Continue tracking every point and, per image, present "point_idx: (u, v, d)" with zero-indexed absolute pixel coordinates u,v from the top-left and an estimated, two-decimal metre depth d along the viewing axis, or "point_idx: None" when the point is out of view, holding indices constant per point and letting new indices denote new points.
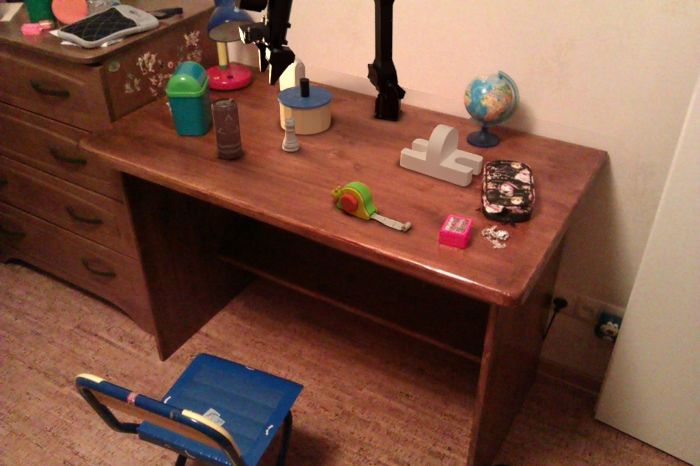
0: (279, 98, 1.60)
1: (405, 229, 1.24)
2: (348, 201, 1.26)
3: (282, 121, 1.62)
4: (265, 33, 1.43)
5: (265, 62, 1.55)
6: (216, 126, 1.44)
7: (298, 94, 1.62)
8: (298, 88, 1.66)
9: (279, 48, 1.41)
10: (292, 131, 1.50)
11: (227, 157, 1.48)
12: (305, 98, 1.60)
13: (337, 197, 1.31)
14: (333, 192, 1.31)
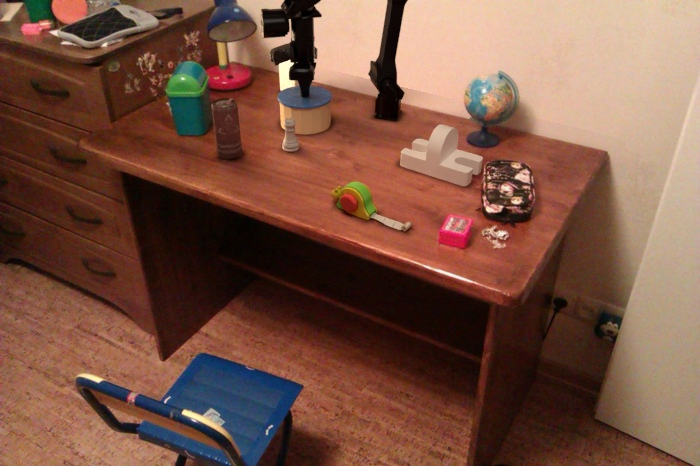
0: (279, 98, 1.60)
1: (405, 229, 1.24)
2: (348, 201, 1.26)
3: (282, 121, 1.62)
4: (290, 54, 1.52)
5: None
6: (216, 126, 1.44)
7: (298, 94, 1.62)
8: (298, 88, 1.66)
9: (297, 68, 1.49)
10: (292, 131, 1.50)
11: (227, 157, 1.48)
12: (305, 98, 1.60)
13: (337, 197, 1.31)
14: (333, 192, 1.31)
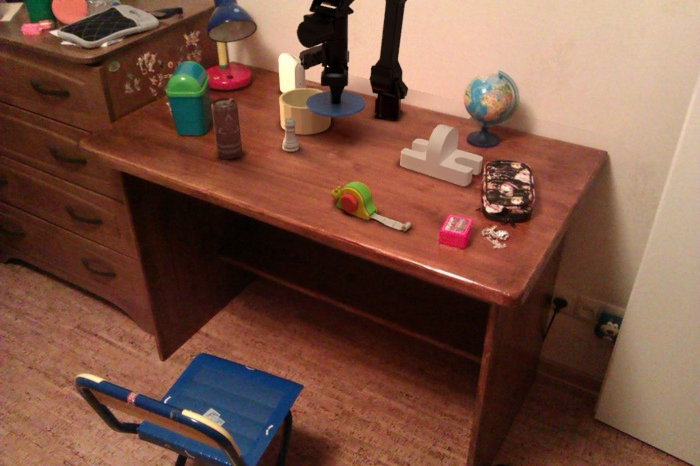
0: (308, 105, 1.47)
1: (405, 229, 1.24)
2: (348, 201, 1.26)
3: (282, 121, 1.62)
4: (321, 57, 1.40)
5: None
6: (216, 126, 1.44)
7: (328, 100, 1.49)
8: (327, 93, 1.53)
9: (330, 72, 1.36)
10: (292, 131, 1.50)
11: (227, 157, 1.48)
12: (336, 105, 1.47)
13: (337, 197, 1.31)
14: (333, 192, 1.31)
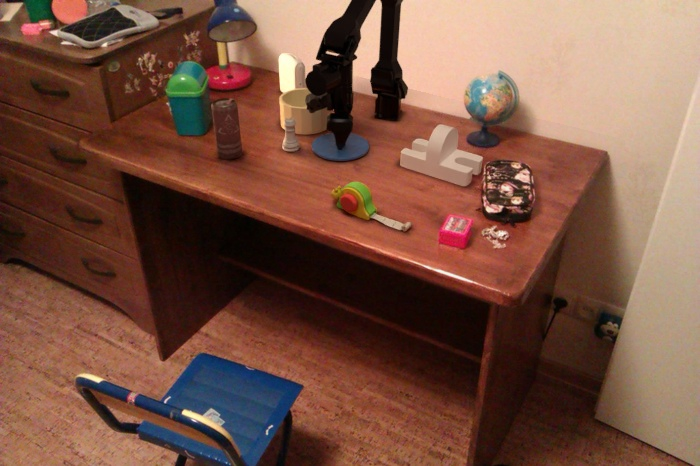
0: (314, 148, 1.52)
1: (405, 229, 1.24)
2: (348, 201, 1.26)
3: (282, 121, 1.62)
4: (327, 101, 1.44)
5: None
6: (216, 126, 1.44)
7: (333, 143, 1.54)
8: (332, 135, 1.58)
9: (336, 117, 1.40)
10: (292, 131, 1.50)
11: (227, 157, 1.48)
12: None
13: (337, 197, 1.31)
14: (333, 192, 1.31)
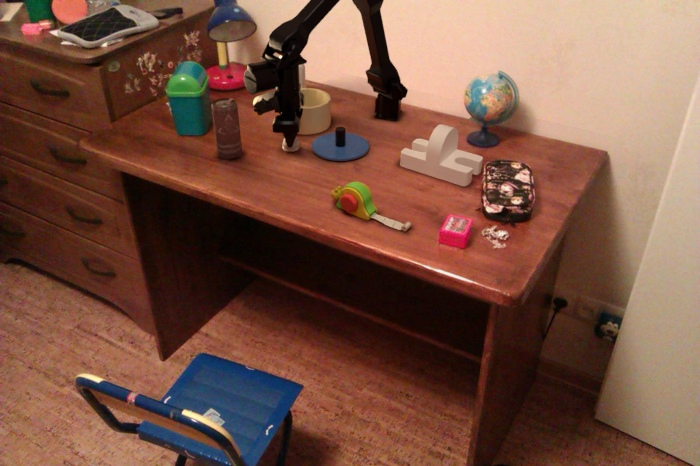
0: (314, 148, 1.52)
1: (405, 229, 1.24)
2: (348, 201, 1.26)
3: None
4: (274, 104, 1.44)
5: None
6: (216, 126, 1.44)
7: (333, 143, 1.54)
8: (332, 135, 1.58)
9: (281, 119, 1.41)
10: None
11: (227, 157, 1.48)
12: (341, 148, 1.52)
13: (337, 197, 1.31)
14: (333, 192, 1.31)
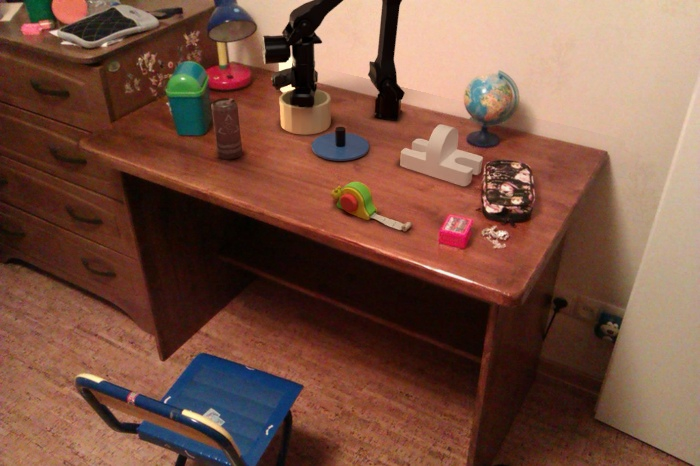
0: (314, 148, 1.52)
1: (405, 229, 1.24)
2: (348, 201, 1.26)
3: (282, 121, 1.62)
4: (291, 79, 1.56)
5: None
6: (216, 126, 1.44)
7: (333, 143, 1.54)
8: (332, 135, 1.58)
9: (298, 93, 1.53)
10: None
11: (227, 157, 1.48)
12: (341, 148, 1.52)
13: (337, 197, 1.31)
14: (333, 192, 1.31)
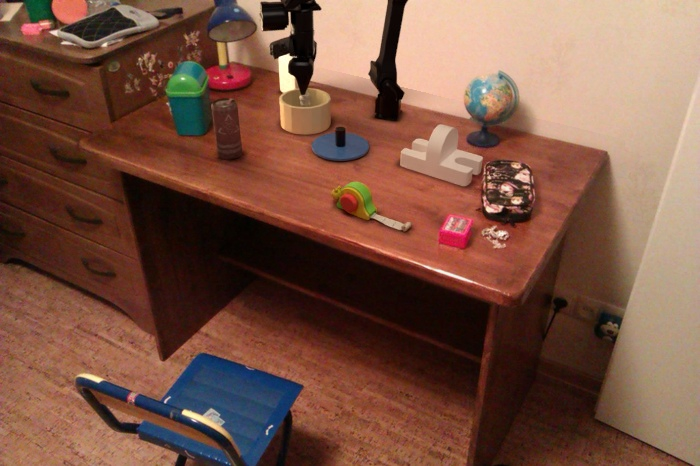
0: (314, 148, 1.52)
1: (405, 229, 1.24)
2: (348, 201, 1.26)
3: (282, 121, 1.62)
4: (289, 47, 1.51)
5: None
6: (216, 126, 1.44)
7: (333, 143, 1.54)
8: (332, 135, 1.58)
9: (297, 61, 1.48)
10: (307, 105, 1.62)
11: (227, 157, 1.48)
12: (341, 148, 1.52)
13: (337, 197, 1.31)
14: (333, 192, 1.31)
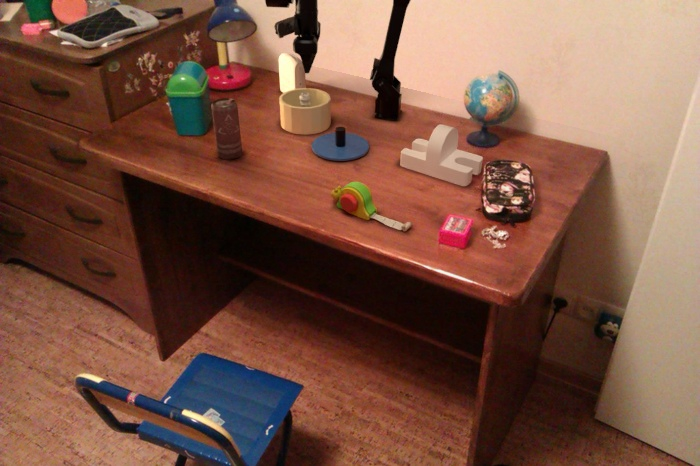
0: (314, 148, 1.52)
1: (405, 229, 1.24)
2: (348, 201, 1.26)
3: (282, 121, 1.62)
4: (294, 26, 1.56)
5: None
6: (216, 126, 1.44)
7: (333, 143, 1.54)
8: (332, 135, 1.58)
9: (301, 39, 1.53)
10: (307, 105, 1.62)
11: (227, 157, 1.48)
12: (341, 148, 1.52)
13: (337, 197, 1.31)
14: (333, 192, 1.31)
